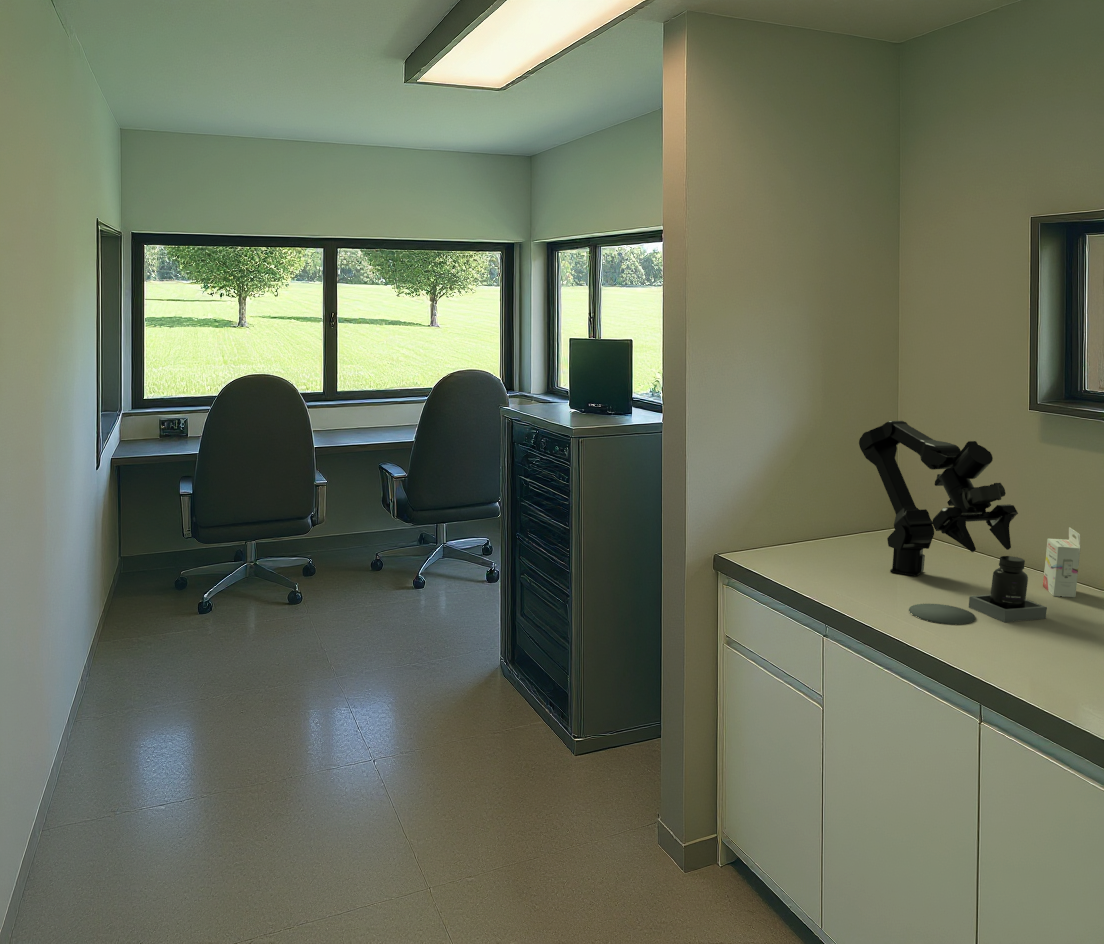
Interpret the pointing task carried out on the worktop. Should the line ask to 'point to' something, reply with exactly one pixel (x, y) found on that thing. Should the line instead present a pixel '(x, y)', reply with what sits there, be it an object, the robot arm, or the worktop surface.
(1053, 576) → the ink cartridge box
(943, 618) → the rubber mat
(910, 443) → the robot arm
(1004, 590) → the supplement bottle
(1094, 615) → the worktop surface
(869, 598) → the worktop surface
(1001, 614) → the square grey tray
